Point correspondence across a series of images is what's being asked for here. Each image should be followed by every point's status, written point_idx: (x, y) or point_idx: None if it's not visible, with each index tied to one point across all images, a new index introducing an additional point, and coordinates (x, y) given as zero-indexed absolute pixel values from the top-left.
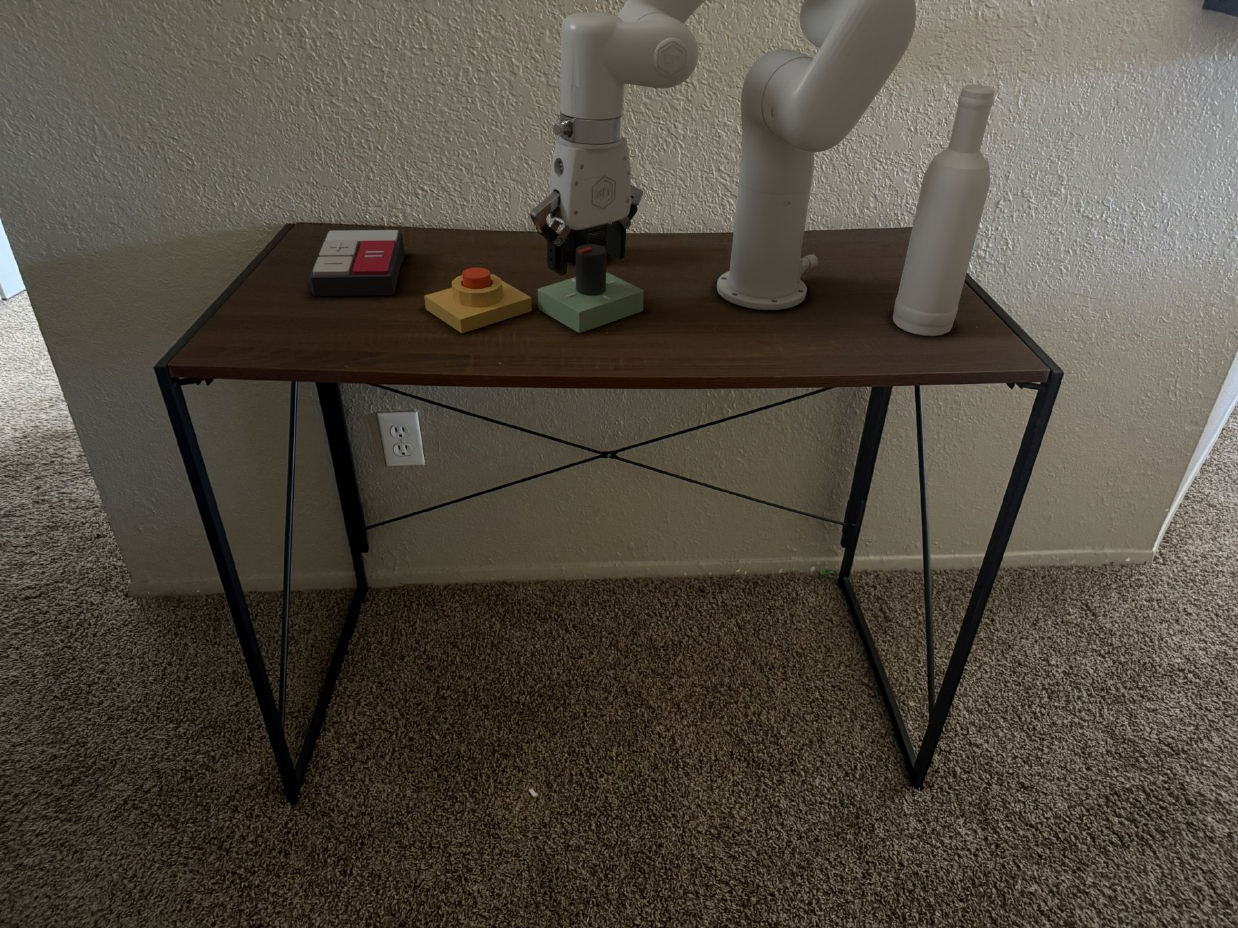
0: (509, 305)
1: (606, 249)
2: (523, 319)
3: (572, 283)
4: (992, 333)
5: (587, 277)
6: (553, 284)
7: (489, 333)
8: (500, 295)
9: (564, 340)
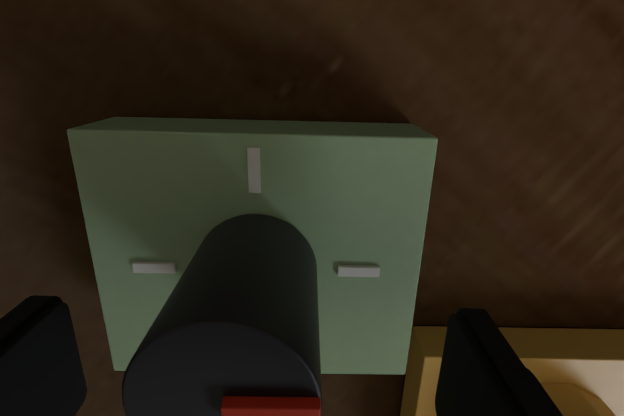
0: None
1: (77, 407)
2: (466, 301)
3: None
4: None
5: (302, 277)
6: (339, 370)
7: (600, 290)
8: None
9: (484, 115)
